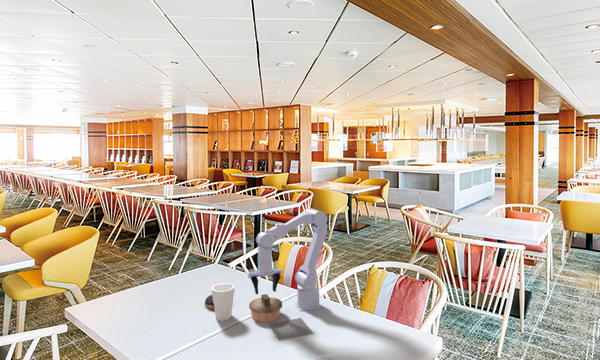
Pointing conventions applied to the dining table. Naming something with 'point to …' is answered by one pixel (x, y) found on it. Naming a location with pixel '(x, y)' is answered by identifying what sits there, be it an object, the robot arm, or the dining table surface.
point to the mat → (290, 329)
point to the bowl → (265, 316)
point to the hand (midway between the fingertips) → (265, 292)
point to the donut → (209, 302)
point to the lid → (265, 304)
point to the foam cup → (223, 300)
